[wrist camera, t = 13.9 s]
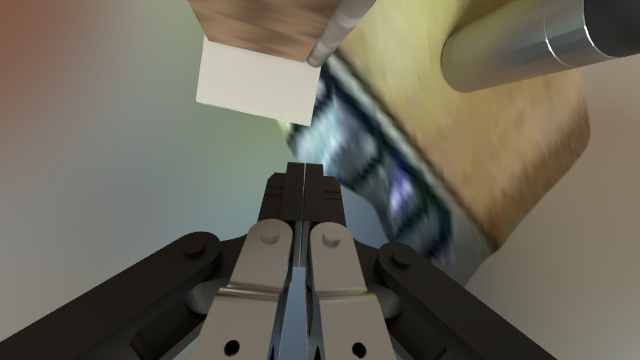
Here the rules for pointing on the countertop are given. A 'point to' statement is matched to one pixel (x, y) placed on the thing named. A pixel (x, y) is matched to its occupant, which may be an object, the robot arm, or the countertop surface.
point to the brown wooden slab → (281, 25)
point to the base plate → (257, 83)
